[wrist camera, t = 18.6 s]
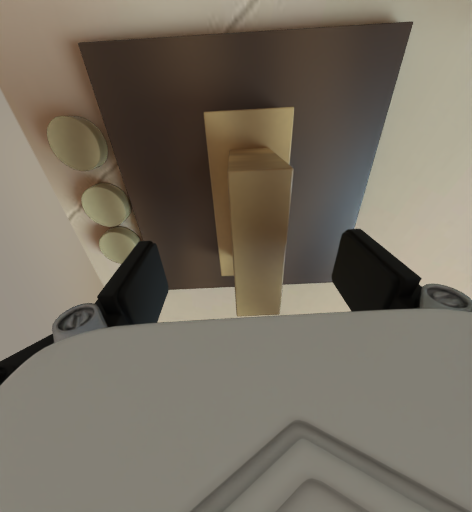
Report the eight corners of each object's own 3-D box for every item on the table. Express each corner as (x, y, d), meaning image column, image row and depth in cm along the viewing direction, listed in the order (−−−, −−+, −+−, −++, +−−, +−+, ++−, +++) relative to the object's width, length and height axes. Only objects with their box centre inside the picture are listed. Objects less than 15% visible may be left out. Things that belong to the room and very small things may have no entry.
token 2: (101, 223, 20) (94, 229, 19) (81, 185, 18) (72, 189, 17) (137, 219, 20) (132, 224, 19) (121, 180, 18) (114, 183, 17)
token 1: (65, 163, 17) (54, 166, 16) (52, 111, 15) (39, 111, 14) (111, 171, 18) (103, 174, 17) (103, 121, 16) (95, 121, 15)
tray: (161, 284, 25) (159, 290, 24) (86, 46, 14) (77, 42, 13) (335, 276, 24) (338, 282, 23) (402, 27, 13) (414, 21, 12)
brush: (222, 256, 21) (216, 339, 13) (208, 112, 15) (180, 107, 7) (274, 253, 21) (299, 335, 13) (283, 108, 15) (343, 98, 7)
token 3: (114, 259, 22) (109, 266, 22) (98, 229, 21) (91, 234, 20) (147, 255, 22) (143, 261, 21) (133, 224, 20) (128, 229, 19)
